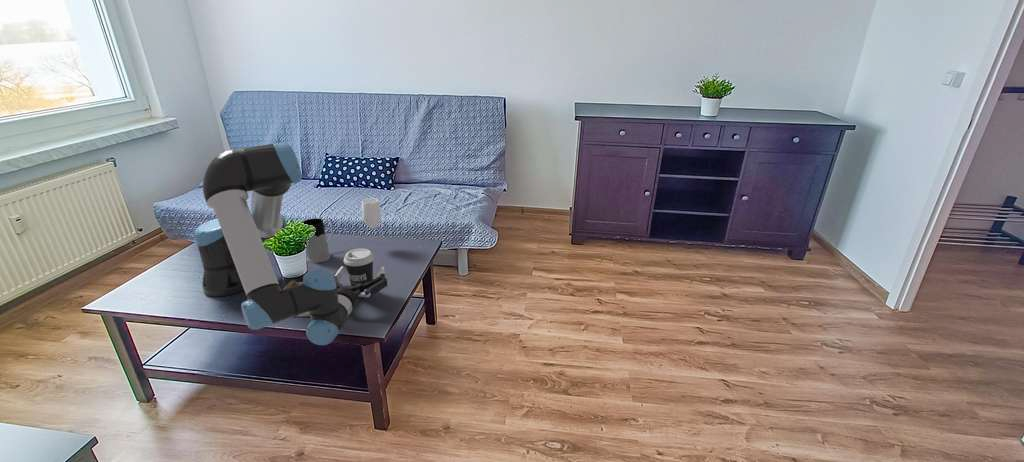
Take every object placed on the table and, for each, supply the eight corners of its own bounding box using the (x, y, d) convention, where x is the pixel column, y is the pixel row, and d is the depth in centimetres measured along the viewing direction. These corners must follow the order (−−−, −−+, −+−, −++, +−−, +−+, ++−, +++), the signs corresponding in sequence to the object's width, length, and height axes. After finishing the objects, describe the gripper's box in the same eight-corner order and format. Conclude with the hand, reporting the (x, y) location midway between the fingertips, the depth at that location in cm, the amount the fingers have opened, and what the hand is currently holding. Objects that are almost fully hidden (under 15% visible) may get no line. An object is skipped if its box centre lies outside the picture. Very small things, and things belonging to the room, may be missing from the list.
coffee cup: (347, 289, 158) (341, 250, 152) (375, 284, 161) (371, 245, 155) (350, 303, 150) (344, 262, 144) (380, 297, 153) (375, 257, 147)
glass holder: (301, 260, 178) (294, 224, 172) (328, 246, 190) (322, 212, 184) (319, 264, 175) (312, 228, 169) (344, 249, 187) (339, 215, 181)
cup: (380, 253, 184) (375, 204, 176) (363, 252, 185) (357, 203, 177) (387, 245, 191) (382, 198, 183) (371, 244, 192) (365, 197, 183)
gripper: (300, 314, 136) (327, 279, 156) (384, 316, 136) (401, 280, 156) (295, 292, 133) (324, 259, 153) (381, 294, 133) (399, 260, 153)
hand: (363, 270), depth 154 cm, fingers open, 13 cm apart
